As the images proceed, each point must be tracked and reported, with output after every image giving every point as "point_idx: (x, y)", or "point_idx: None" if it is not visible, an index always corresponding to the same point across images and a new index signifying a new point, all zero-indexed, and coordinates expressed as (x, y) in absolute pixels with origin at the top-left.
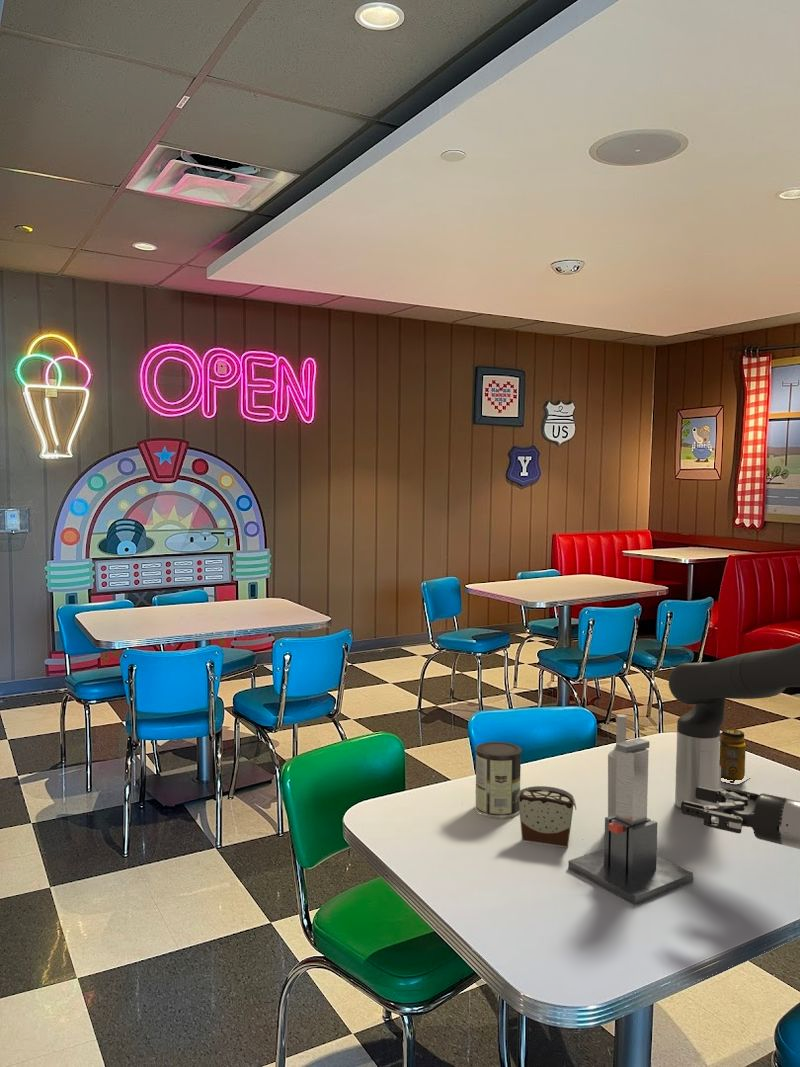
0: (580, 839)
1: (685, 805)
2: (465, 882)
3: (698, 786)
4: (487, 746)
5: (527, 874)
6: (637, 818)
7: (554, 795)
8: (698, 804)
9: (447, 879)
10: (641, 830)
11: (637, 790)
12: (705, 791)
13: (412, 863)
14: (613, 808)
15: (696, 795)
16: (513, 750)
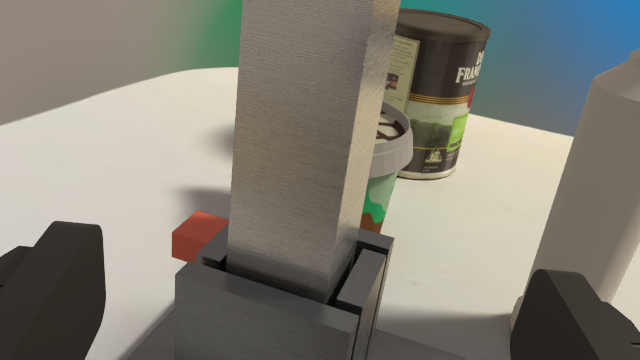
0: (407, 280)
1: (8, 257)
2: (24, 176)
3: (573, 272)
4: (430, 16)
5: (119, 239)
6: (260, 251)
7: (378, 130)
8: (2, 324)
9: (28, 157)
10: (231, 306)
11: (269, 113)
12: (565, 344)
13: (79, 122)
14: (537, 258)
15: (515, 330)
16: (455, 30)
